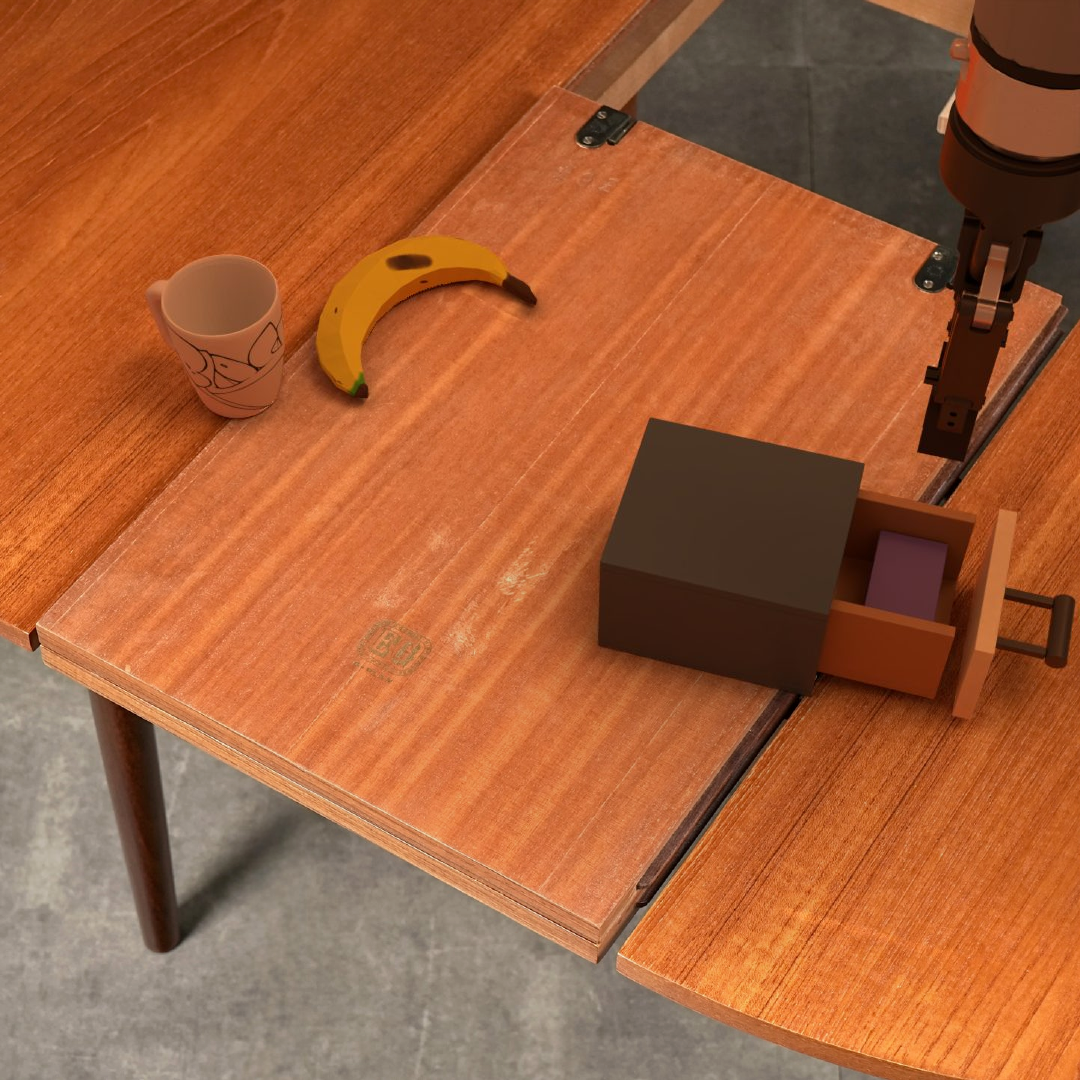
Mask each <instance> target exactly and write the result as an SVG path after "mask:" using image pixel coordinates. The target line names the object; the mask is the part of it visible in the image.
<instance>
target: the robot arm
mask: <svg viewBox="0 0 1080 1080" xmlns="http://www.w3.org/2000/svg"><path fill="white" fill-rule="evenodd" d="M949 56H950V57H951V58H952V59H953V60H956V61H961V66H960V70H959V72H958V79H957V82H956V87H955V91H954V100H953V102H952V103H951V105H950V109H949V113H948V117H947V122H946V126H945V130H944V136H943V140H942V143H941V148H940V154H939V159H938V168H939V169H938V170H939V174H940V177H941V180H942V182H943V185H944V186H945V188H946V190H947V191H948V193H949V194H950V195H951V196H952V197H953V198H954V199H955V200H956V201H957V202H958V203H959V204H960V205H961V206H963V207H964V212H963V214H964V215H963V219H962V222H961V227H960V229H959V230H960V231H959V236H958V240H957V244H956V249H957V252H958V253H959V256H958V259H957V260H958V261H957V264H956V268H955V272H954V277H953V280H952V290H953V292H954V293H953V296H952V300H953V301H954V304H953V305H954V307H953V312H952V316H951V318H950V319H949V321H947V325H946V331H947V338H948V340H947V341H945V340H944V341H943V343H942V347H941V351H940V355H939V357H938V358H939V359H938V362H937V366H933V365H930V364H929V365H927V366H926V368H925V373H924V379H923V382H922V384H924V385H928V386H931V390H930V393H929V399H928V401H927V406H926V410H925V414H924V417H923V422H922V427H921V428H922V429H921V433H920V437H919V441H918V445H917V449H916V453H917V454H922V455H928V456H931V457H936V458H940V459H945V460H946V459H947V460H951V461H956V462H960V463H965V460H966V457H967V453H968V450H969V446H970V442H971V439H972V435H973V433H974V430H975V425H976V422H977V418H978V416H979V412H981V410H983V407H984V406H985V405H986V402H987V401H986V400H987V396H986V394H987V390H988V387H989V384H990V382H991V378H992V376H993V371H994V368H995V365H996V362H997V360H998V359H997V358H998V355H999V352H1000V349H1006V346H1007V341H1008V337H1009V331H1010V329H1008V328H1009V324H1010V323H1011V322H1013V321H1014V317H1015V313H1016V312H1015V311H1014V309H1015V307H1014V304H1017V303H1018V302H1019V301H1020V299H1021V296H1022V293H1023V289H1024V286H1025V283H1026V278H1027V275H1028V272H1029V269H1030V268H1031V267H1032V266H1034V265H1035V264H1036V263H1037V260H1038V256H1039V253H1040V250H1041V246H1042V242H1043V238H1044V233H1045V229H1043V228H1042V227H1043V226H1045V225H1049V224H1053V223H1056V222H1059V221H1062V220H1065V219H1067V218H1069V217H1071V216H1072V215H1074V214H1076V213H1077V212H1078V211H1080V0H974V3H973V8H972V14H971V18H970V24H969V29H968V34H967V38H964V37H956V38H955V39H953V40H952V42H951V44H950V48H949Z"/></svg>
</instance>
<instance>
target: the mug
mask: <svg viewBox="0 0 1080 1080" xmlns="http://www.w3.org/2000/svg"><path fill="white" fill-rule="evenodd" d="M144 297H145V301H146V305H147V307H148V309H149V313H151V316H152V317H153V320H154V322H155V324H156V326H157V328H158V330H159V333H160V335H161V337H162V340H163V341H164V342H165V344H166V345H167V346H168V347H169V348H170V349H171V350H173V352H175V353H176V354H177V356H178V359H179V361H180V364H181V365H182V368H183V370H184V371H185V373H186V375H187V377H188V379H189V381H190V382H191V384H192V386H193V388H194V390H195V391H196V393H197V395H198V397H199V399H200V400H201V401H202V403H203V404H204V405H205V407H207V409H209V410H210V411H211V412H212V413H214V414H217V415H218V416H221V417H224V418H229V419H245V418H249V417H253V416H255V415H259V414H260V413H262V412H264V411H266V410H267V409H269V408H270V407H271V406H272V405H273V404H274V403H275V402H276V400H277V399H278V397H279V395H280V394H281V391H282V388H283V380H284V361H285V329H284V318H283V317H284V316H283V307H282V297H281V291H280V285H279V283H278V280H277V279H276V276H275V275H274V274H273V272H272V271H271V270H270V269H269V268H268V267H267V266H266V265H265V264H263V263H261V262H260V261H258V260H257V259H254V258H251V257H248V256H245V255H239V254H227V253H226V254H215V255H209V256H204V257H202V258H199V259H196V260H194V261H191V262H190V263H188V264H186V265H184V266H183V267H181V268H180V269H178V270H177V271H176V272H175V273H174V274H173V275H172V276H171V277H170V278H169V279H168V280H167V279H158V280H156V281H154V282H153V283H151V285H149V287H148V288H146V290H145V293H144ZM281 387H282V388H281ZM280 390H281V391H280ZM278 394H279V395H278ZM277 396H278V397H277ZM276 397H277V398H276ZM275 398H276V400H275ZM274 400H275V401H274ZM272 401H274V402H273V403H272ZM271 403H272V404H271ZM270 404H271V405H270ZM269 405H270V406H269ZM267 406H268V407H267ZM265 407H267V408H265ZM264 408H265V409H264ZM262 409H264V410H262ZM260 410H262V411H260ZM259 411H260V412H259ZM257 412H258V413H257ZM254 413H255V414H254Z"/></svg>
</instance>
